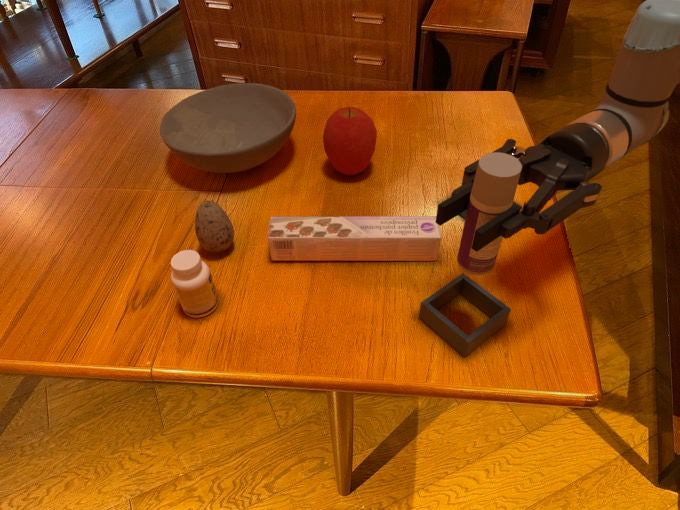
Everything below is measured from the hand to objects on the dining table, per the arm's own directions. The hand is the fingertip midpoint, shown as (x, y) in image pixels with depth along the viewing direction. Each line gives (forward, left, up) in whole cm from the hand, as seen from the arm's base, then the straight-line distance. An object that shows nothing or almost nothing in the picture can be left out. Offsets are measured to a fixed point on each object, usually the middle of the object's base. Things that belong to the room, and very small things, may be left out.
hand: (457, 227), depth 53 cm
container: (0, -5, -9) cm, 11 cm away
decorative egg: (+36, +15, -21) cm, 44 cm away
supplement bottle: (+27, +23, -21) cm, 41 cm away
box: (+21, -2, -21) cm, 30 cm away
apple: (+39, -16, -21) cm, 47 cm away
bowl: (+58, -1, -21) cm, 61 cm away
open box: (0, -5, -21) cm, 22 cm away
